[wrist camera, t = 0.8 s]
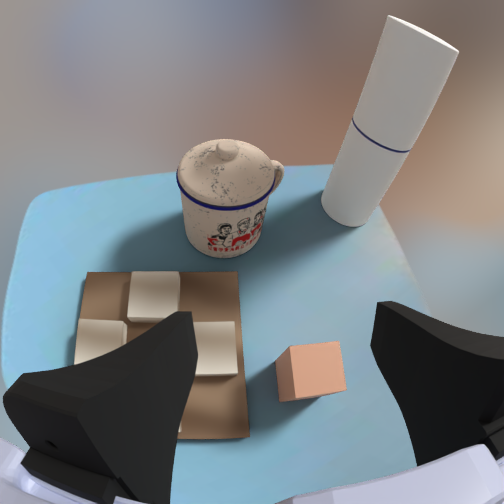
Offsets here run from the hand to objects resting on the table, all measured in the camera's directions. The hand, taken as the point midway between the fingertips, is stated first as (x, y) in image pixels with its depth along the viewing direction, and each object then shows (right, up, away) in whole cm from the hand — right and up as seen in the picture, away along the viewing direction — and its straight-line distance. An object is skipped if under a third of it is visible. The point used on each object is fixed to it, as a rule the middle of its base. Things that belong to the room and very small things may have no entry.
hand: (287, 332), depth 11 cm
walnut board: (-10, -6, +14) cm, 18 cm away
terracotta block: (+3, -9, +14) cm, 17 cm away
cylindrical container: (+11, +9, +27) cm, 30 cm away
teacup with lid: (-3, +6, +23) cm, 24 cm away
